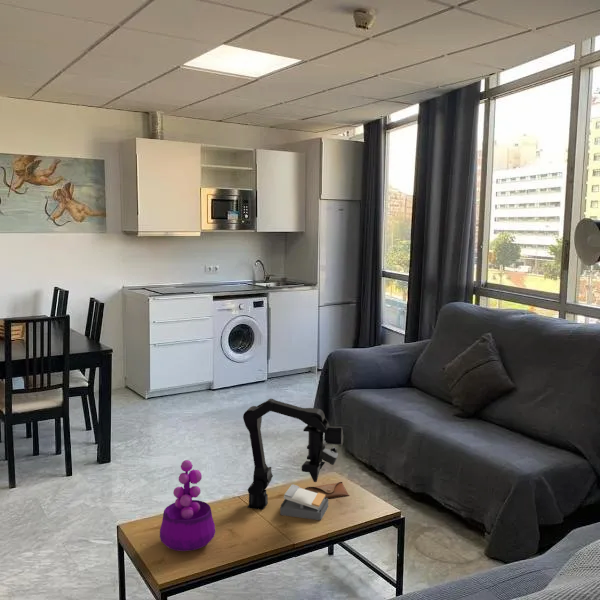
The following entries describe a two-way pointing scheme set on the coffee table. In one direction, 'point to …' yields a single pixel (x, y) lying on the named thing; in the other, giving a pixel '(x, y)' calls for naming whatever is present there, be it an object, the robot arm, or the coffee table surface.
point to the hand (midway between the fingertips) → (315, 481)
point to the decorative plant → (187, 515)
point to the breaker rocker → (304, 497)
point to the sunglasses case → (330, 490)
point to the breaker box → (303, 510)
